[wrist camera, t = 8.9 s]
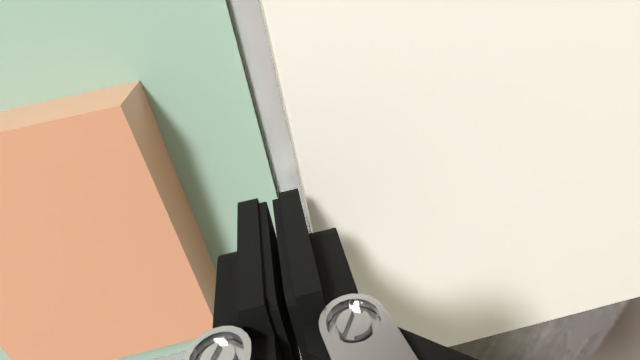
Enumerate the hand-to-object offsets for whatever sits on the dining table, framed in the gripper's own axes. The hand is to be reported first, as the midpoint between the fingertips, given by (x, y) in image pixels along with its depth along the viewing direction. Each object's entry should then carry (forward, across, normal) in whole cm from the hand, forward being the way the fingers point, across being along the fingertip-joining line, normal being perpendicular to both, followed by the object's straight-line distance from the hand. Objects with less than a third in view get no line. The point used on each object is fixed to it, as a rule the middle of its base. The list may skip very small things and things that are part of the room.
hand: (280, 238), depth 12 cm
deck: (+5, -8, 0) cm, 9 cm away
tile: (+2, +7, 0) cm, 7 cm away
